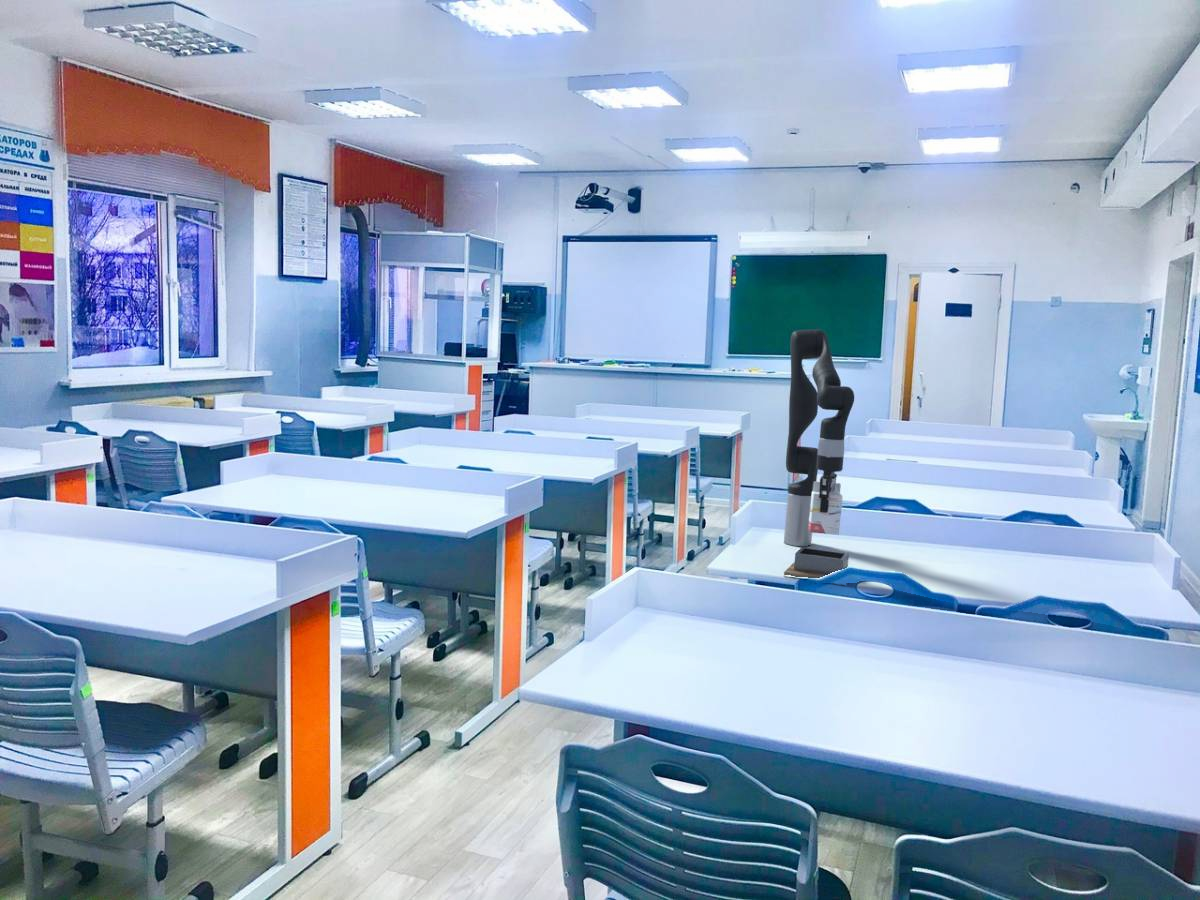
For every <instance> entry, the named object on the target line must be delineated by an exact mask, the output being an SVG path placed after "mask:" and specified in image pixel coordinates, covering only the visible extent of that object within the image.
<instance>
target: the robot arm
mask: <svg viewBox="0 0 1200 900" xmlns="http://www.w3.org/2000/svg"><path fill="white" fill-rule="evenodd" d="M789 345H790V390H789V400H788V401H789V402H788V403H789V404H788V435H787V436H788V437H787V444H786V445H787V446H786V453H785V454H786V456H785V468H786V471H787V472H788V473H791V474H797V475H798V474H800V475H807V476H806V478H804V479H802V480H801V481H797V482H793V483H790V484H788V487H787V498H786V500H787V501H786V509H785V510H786V511H785V524H784V534H783V535H784V537H783V544H785V545H790V546H793V547H794V546H795V547H809V546H808V545H810V546H812V541H813V540H812V539H813V533H812V532H810V531H809V529H808V526H809V516H810V505H811V495H812V491H813V483H814V481H817V480H818V471H822V472H823V473H822V475H821V476H820V479H819V482H820V492H819V498H820V499H821V503H820V512H824V513H827V512H828V504H829V499H830V493H832V492H833V491H834V490H835V483H837V477H838V475H837V472H842V471H843V469H844V455H845V435H846V434H845V433H846V425H847V421H848V418H849V416H850V413H851V411H852V408H853V405H854V403H855V393H854V391H853V389H852V388H851V387H849V386H843V385H842V384H841V383H842V382H841V378H840V376H839V374H838V371H837V370H836V368H835V365H834V362H833V361H834V360H833V358H832V357H833V356H832V352H831V348H830V345H829V341H828V336H827V334H826V332H825V331H824V330H822V329H819V328H818V329H817V328H816V329H815V328H814V329H803V330H802V329H799V330H794V331H793V332H792V333H791V337H790V343H789ZM810 359H818V360H817V361H816V362H815V364H814V365H813V367H812V379H813V381H814V383H815V385H816V387H815V386H814V384H813V383H812V381H811V380H810V379H809V377H808V375H807V374H806V372H805V370H804V368H803V360H810ZM819 408H821V409H822V410H825V411H826V410H828V411H837V412H836V414H835V415H834V416H831V417H826V418H823V419H822V420H821V422H820V431H819V441H818V445H817V447H813V446H812V447H811V446H800V445H798V442H799V440H800V438H801V437H802V435H803V434H804V432H805V431H806V430H807V429H808V428H809V426H811V425H812V424H813V422H814V421H815V419H817V416H818V409H819ZM824 492H826V494H823V493H824Z"/></svg>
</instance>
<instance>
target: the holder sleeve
mask: <svg viewBox="0 0 1200 900" xmlns="http://www.w3.org/2000/svg"><path fill="white" fill-rule="evenodd" d="M849 556H850V553H847V552H840V551H835V550H834V551H833V550H827V549H826V550H825V549H819V548H811V547H806V546H801V548H800V549H798V550H797V551H796V552H795V554H794V562H795V563H794V562H793V563H794V570H798V571H805V572H812V573H819V574H825V575H828V574H830V573H832V572H835V571H838V570H842V569H845V568H847V567H849Z"/></svg>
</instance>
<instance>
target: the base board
mask: <svg viewBox="0 0 1200 900" xmlns="http://www.w3.org/2000/svg"><path fill="white" fill-rule="evenodd" d="M794 563H795V561H793V563H792V564H791V565H790V566H789V567H788V568H786V569H785V571H784V572H783V576H784V575H791V576H795V577H808V578H820V577H823V576H825V574H819V573H812V572H805V571H798V570H794Z"/></svg>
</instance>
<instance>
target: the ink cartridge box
mask: <svg viewBox="0 0 1200 900" xmlns="http://www.w3.org/2000/svg"><path fill="white" fill-rule="evenodd" d="M841 487H842V486H841V483H840V482H839V483H838V482H836V483H835V490H834V491H833V492H832V493H830V499H829V504H828V512H827V513H824V512H820V503H821V499H820V498H819V492H820V481H817V480H816V481H814V483H813V491H812V495H811V505H810V516H809V526H808V529H809V531H810V532H812V534H813V533H814V534H816V533H817V534H824V535H840V526H841V516H842V507H843V495H842V494H841ZM823 494H826V492H824V493H823Z"/></svg>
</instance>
